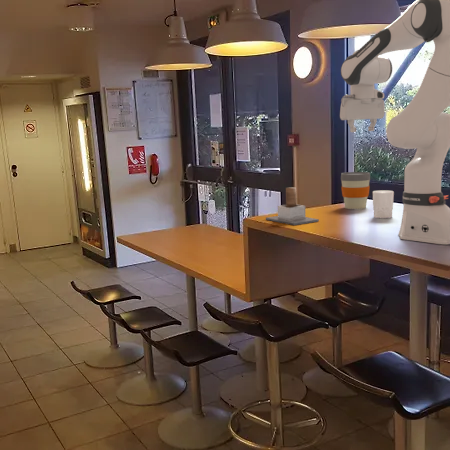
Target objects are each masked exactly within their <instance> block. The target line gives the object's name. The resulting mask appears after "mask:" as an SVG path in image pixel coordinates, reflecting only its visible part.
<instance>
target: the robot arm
mask: <svg viewBox="0 0 450 450" xmlns="http://www.w3.org/2000/svg"><path fill="white" fill-rule="evenodd" d="M431 41H433V43H434V50H433V54H432V56H431V58H430V61H429V63H428V67H427V69H426V71H425V74H424V77H423V79H422V81H421V83H420V86H419V88H418V90H417V92H416V93H415V95H414V96H413V98H412V100H410V101H409V102H408V104H407V105H406V107H405V108H404V109H402V111H401V112H399V113H398V114H397V115H394V116H393V117H392V118H391V119H390V120H389V121H388V123H387V126H386V138H387V140H388V142H389V144H390V145H391V146H393V147H394V148H399V149H405V150H413V149H416V152H415V154H414V157H412V159H411V161H410V162H408V163H407V164H406V165H405V168H404V177H403V178H404V179H403V180H404V181H403V182H404V183H403V184H404V186H403V189H404V191H402V205H403V210H402V218H401V224H400V228H399V230H398V236H399V239H400V240H405V241H415V242H421V243H428V244H436V245H443V246H444V245H450V207H449V206H448V205H447V204H446V203H447V201H446V200H448V199H449V194H448V195H444V193H443V192H442V174H443V173H442V172H443V166H444V162H445V159H446V156H447V154H448V152H449V150H450V113H448V112H447V113H446V112H444V111H445V110H446V109H447V108H449V107H450V0H415V1H414V2H413V3H412V4H411V5H409V6H408V7H407V9H406V10H404V12H403V13H402V14H401V15H400V16H399V17H398V18H397V19H396V20H394V21H393V22H392V23H390V24H389V25H387V26H386V27H385V28H383V29H381V30H380V31H378V32H376V34H375V35H373V36H372V37H371V38H370V39H369V40H368V41H367V42H365V44H364V45H362V46H361V48H359V49H357V50H355V51H354V52H353V53H352V54H351V55H348V56H347V57H345V59H344V60H343V62H342V64H341V67H340V77H341V78H342V79H343V82H344V81H345V83H346V84H347V85H348V86H349V87H350V93H349V94H344V95H343V96H342V98H341V103H340V110H339V119H340V120H341V121H347V124H348V126H349V131H350V133H356V132H357V127H356V126H355V125H354V123H355V120H356V121H357V120H369V122H370V124H369V126H367V127H368V129H367V131H368V132H374V131H375V126H376V124H377V122H378V121H377V120H378V119H379V120H381V119H384V117H385V110H386V109H385V101H384V98H385V93H384V92H382V91H381V90H378V89H377V88H375V87H376V84H384V83H386V82H388V81H389V80H390V78H391V76H392V74H393V64H392V61H391V60H390V58H389V57H387V56H384V55H383V54H386V53H390V52H392V53H393V52H395V51H404V50H405V51H406V50H411V49H414V48H417V47H418V46H420V45H421V44H423V43H430V42H431Z"/></svg>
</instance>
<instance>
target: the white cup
mask: <svg viewBox="0 0 450 450" xmlns="http://www.w3.org/2000/svg"><path fill="white" fill-rule="evenodd" d="M394 195H395V192H394V191H393V190H387V189H386V190H383V189H382V190H380V189H379V190H373V191H372V206H373V208H372V209H373V217H374V218H376V219H390V218H392V217H393V210H394Z"/></svg>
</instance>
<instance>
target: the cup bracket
mask: <svg viewBox="0 0 450 450" xmlns="http://www.w3.org/2000/svg"><path fill="white" fill-rule="evenodd" d="M265 220H266V221H269V222H275V223H280V224H284V223H285V224H284V225H289V224H290V226H299V225H300V226H301V225H305V224H312V223H318V221H319V219H318V218H313V217H309V216H308V217H307V216H306V205H303V204H302V205H301V204H297V207H286V204H282V205H277V215H275V216H269V217H265Z"/></svg>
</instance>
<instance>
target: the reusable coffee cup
mask: <svg viewBox="0 0 450 450" xmlns="http://www.w3.org/2000/svg"><path fill="white" fill-rule="evenodd" d="M370 180H371V174H370V172H368V171H349V172H341V175H340V181H341V186H340V187H341V188H340V189H341V196H342V197H343V204H344V209H348V210H365V209H366V208H367V202H368V197H369V195H370Z"/></svg>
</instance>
